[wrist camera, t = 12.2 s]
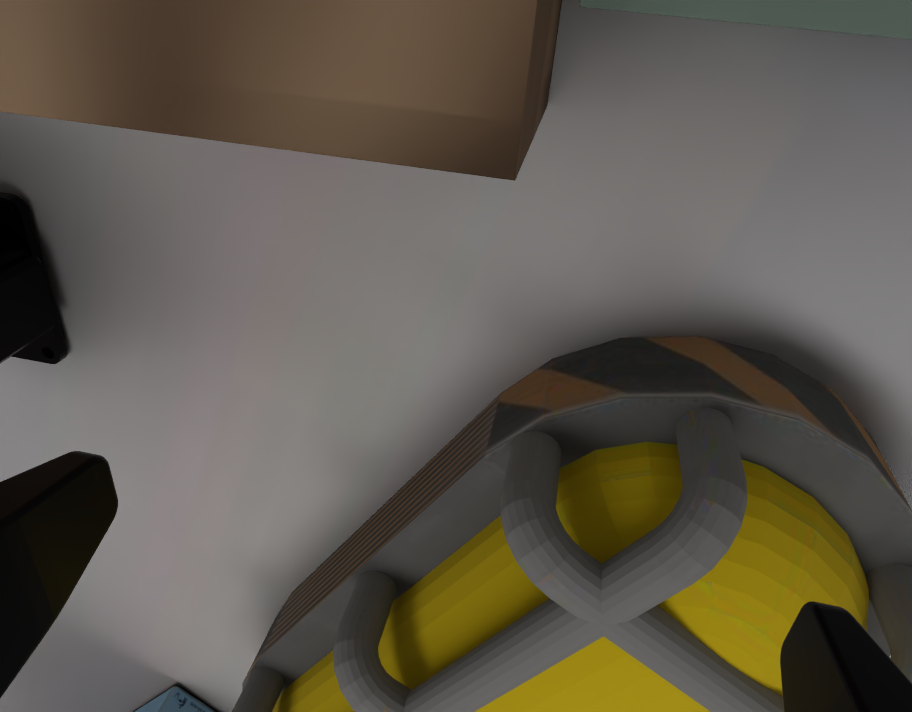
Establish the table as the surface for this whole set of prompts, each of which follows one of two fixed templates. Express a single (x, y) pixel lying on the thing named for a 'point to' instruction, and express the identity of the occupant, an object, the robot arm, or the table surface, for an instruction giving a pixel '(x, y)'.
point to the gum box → (175, 703)
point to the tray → (785, 13)
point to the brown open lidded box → (294, 73)
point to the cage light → (606, 548)
